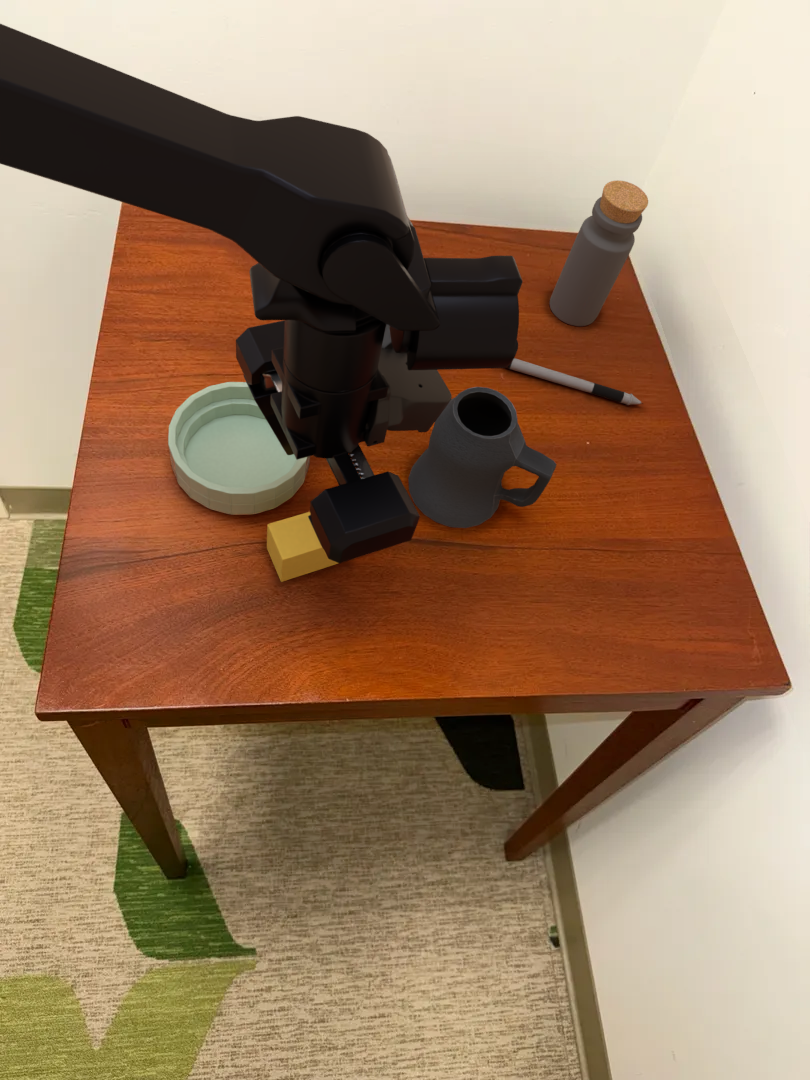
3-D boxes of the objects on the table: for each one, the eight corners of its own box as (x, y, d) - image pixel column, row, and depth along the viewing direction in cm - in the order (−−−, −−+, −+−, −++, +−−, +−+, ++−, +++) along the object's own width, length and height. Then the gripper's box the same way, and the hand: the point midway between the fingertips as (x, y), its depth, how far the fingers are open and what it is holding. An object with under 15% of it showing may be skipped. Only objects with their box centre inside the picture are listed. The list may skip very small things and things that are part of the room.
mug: (392, 500, 71) (413, 425, 62) (430, 434, 76) (456, 355, 66) (509, 557, 70) (549, 490, 61) (540, 487, 75) (582, 414, 65)
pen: (496, 359, 83) (500, 350, 82) (641, 403, 83) (646, 395, 82) (494, 367, 82) (497, 359, 81) (640, 412, 82) (645, 404, 81)
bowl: (196, 536, 66) (193, 510, 62) (155, 428, 71) (150, 399, 67) (327, 497, 70) (331, 471, 67) (280, 398, 75) (282, 369, 71)
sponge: (281, 582, 65) (282, 560, 62) (266, 547, 67) (267, 524, 63) (345, 561, 67) (350, 538, 64) (330, 528, 69) (334, 504, 65)
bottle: (541, 311, 88) (590, 196, 75) (559, 283, 91) (609, 168, 78) (587, 334, 87) (644, 222, 74) (603, 305, 90) (661, 193, 77)
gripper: (519, 442, 45) (459, 567, 58) (388, 233, 52) (361, 386, 66) (344, 494, 41) (322, 614, 54) (230, 260, 48) (235, 417, 62)
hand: (314, 498), depth 59 cm, fingers open, 9 cm apart
